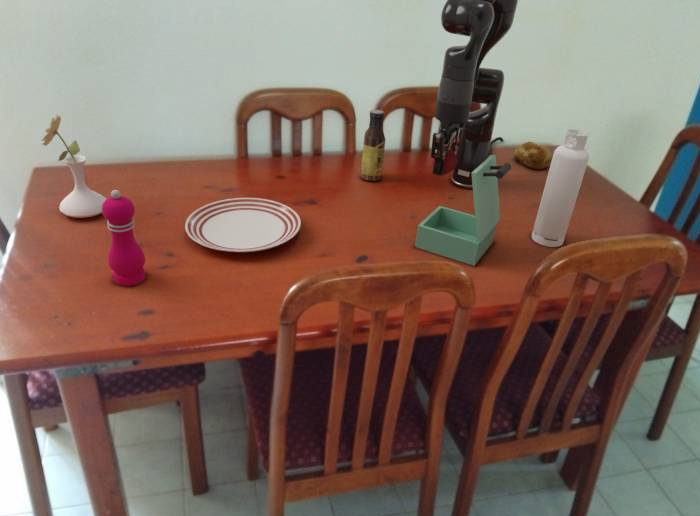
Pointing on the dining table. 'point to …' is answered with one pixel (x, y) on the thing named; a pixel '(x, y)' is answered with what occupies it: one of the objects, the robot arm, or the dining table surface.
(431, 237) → the teal open box
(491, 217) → the box lid
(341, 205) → the dining table surface
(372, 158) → the sauce bottle
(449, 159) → the onion
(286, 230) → the dinner plate
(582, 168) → the bottle
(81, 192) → the flower in vase
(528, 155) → the bread roll
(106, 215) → the pepper mill
